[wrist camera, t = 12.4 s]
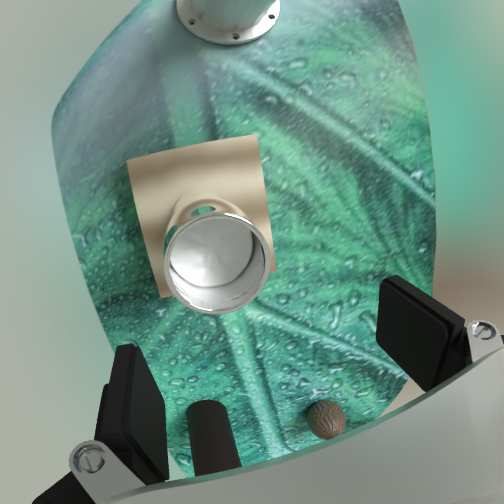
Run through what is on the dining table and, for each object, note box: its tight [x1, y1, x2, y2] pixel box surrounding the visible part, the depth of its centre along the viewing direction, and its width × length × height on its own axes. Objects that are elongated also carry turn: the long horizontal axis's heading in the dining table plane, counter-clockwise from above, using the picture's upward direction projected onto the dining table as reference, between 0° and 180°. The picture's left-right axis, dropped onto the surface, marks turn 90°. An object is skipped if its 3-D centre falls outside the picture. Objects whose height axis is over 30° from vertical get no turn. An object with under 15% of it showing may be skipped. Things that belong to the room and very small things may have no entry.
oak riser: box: [126, 134, 276, 298], centre depth 33 cm, size 16×14×3 cm
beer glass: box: [163, 189, 271, 314], centre depth 25 cm, size 7×7×15 cm
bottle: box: [187, 400, 242, 477], centre depth 35 cm, size 7×7×20 cm
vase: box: [307, 400, 346, 440], centre depth 47 cm, size 7×7×9 cm
